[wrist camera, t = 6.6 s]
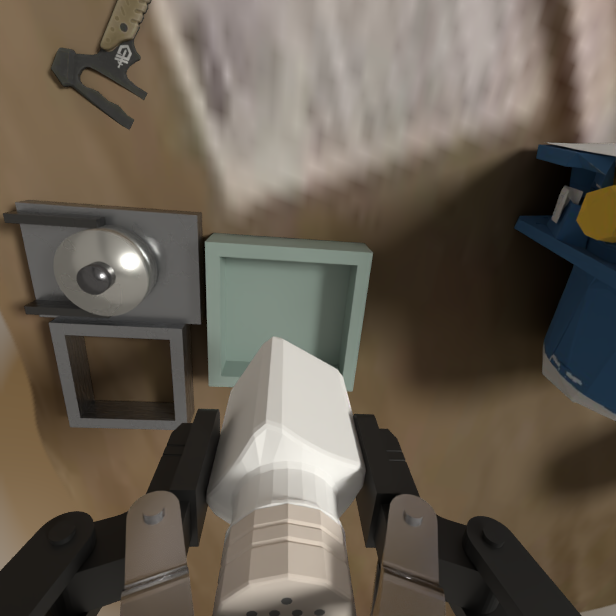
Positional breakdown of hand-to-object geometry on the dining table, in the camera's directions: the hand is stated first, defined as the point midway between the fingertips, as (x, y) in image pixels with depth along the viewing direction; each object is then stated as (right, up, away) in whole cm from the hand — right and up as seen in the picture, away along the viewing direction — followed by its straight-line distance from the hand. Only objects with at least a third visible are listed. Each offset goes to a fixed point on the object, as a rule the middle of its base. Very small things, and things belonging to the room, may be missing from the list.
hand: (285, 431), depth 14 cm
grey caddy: (-11, +4, +11) cm, 16 cm away
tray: (-1, +5, +11) cm, 12 cm away
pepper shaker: (0, +1, +3) cm, 4 cm away
